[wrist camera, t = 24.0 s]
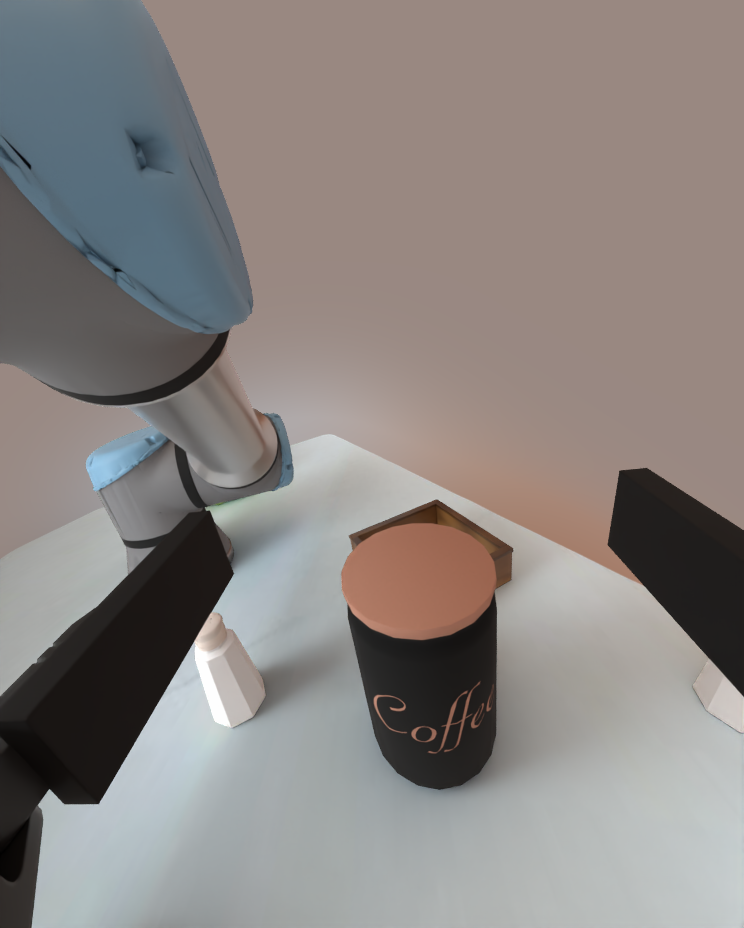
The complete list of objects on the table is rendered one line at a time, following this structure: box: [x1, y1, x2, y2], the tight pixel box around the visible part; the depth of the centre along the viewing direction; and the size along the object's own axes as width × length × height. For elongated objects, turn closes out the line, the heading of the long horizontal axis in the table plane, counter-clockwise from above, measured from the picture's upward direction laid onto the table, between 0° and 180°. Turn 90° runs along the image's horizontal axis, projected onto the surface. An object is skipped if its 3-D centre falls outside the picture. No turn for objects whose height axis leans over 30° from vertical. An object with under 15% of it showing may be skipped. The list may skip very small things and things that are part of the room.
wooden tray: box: [349, 499, 513, 589], centre depth 49 cm, size 16×16×5 cm
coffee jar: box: [341, 523, 497, 790], centre depth 28 cm, size 11×11×18 cm
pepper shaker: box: [194, 613, 266, 728], centre depth 34 cm, size 5×5×11 cm
